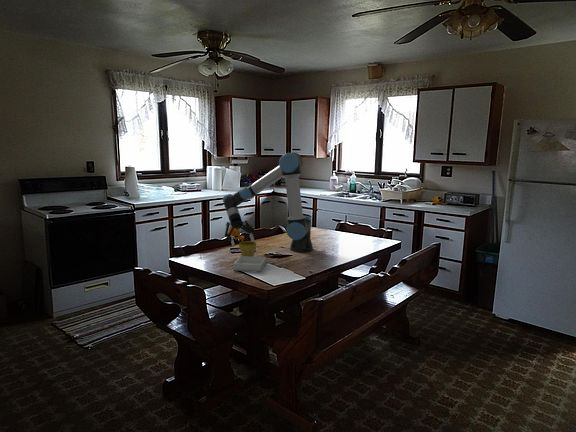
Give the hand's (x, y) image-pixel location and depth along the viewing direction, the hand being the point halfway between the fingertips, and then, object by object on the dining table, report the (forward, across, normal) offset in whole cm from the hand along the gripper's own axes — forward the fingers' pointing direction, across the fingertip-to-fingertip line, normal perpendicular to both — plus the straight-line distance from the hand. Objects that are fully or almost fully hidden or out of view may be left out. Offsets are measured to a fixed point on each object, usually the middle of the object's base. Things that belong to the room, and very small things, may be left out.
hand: (243, 244), depth 249 cm
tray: (+20, +5, +9) cm, 23 cm away
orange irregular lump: (-24, -13, -36) cm, 45 cm away
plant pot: (+9, -1, -4) cm, 9 cm away
